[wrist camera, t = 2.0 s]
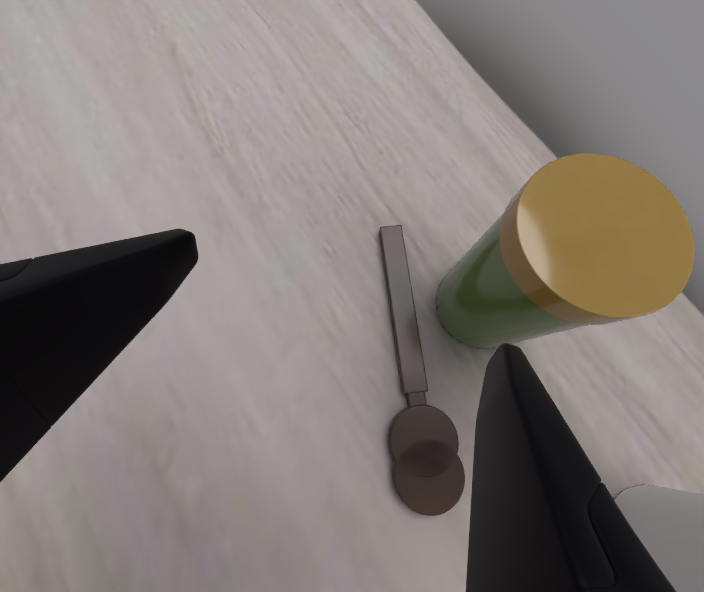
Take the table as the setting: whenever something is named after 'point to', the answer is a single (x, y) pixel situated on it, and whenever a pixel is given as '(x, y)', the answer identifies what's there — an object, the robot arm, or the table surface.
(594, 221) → the pickle jar
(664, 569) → the foam cup
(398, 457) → the spoon
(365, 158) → the table surface
